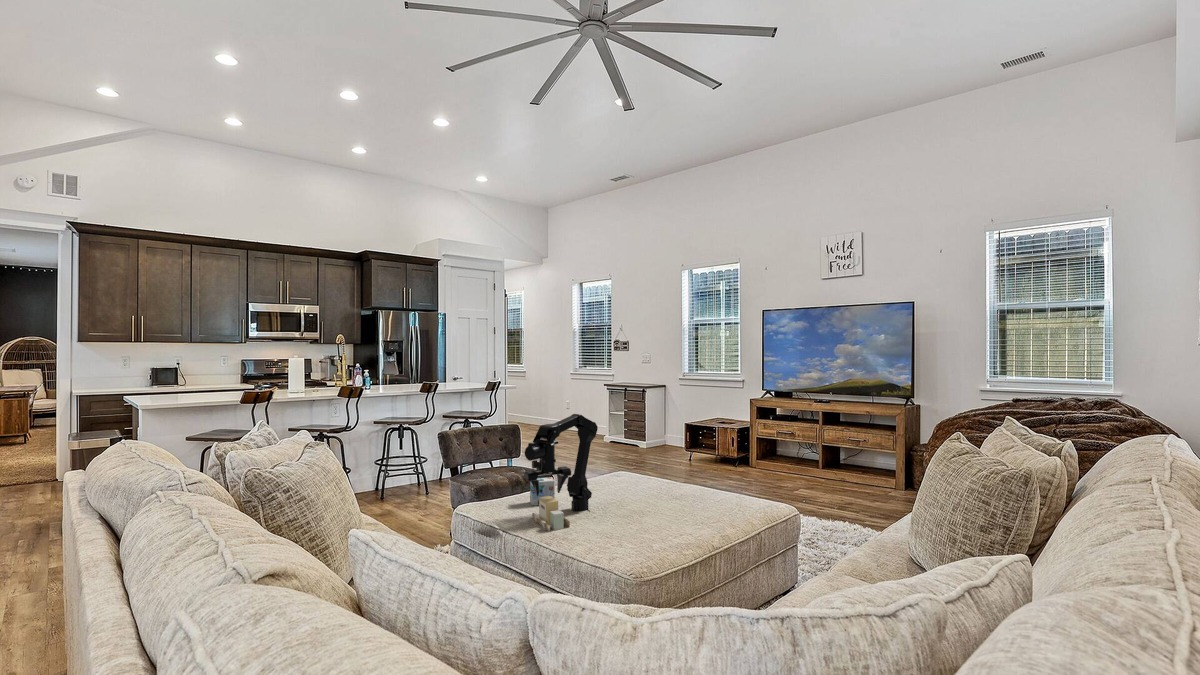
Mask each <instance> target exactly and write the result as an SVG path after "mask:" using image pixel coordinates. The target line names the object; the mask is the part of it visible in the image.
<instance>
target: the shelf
mask: <svg viewBox="0 0 1200 675" xmlns="http://www.w3.org/2000/svg"><path fill="white" fill-rule="evenodd" d="M531 519H533V520H534V521H535V522H536V523H538V524H539V525H540V526H541V527H543V529H544V530H546V531H547V532H551V531H555V530H554V529H552V528H551V527H550V525H548V524H547V523H546V522H545V521H544V520H542V519H541V518H540V517H539V515H537V514H536V513H535V512H532V514H531ZM569 528H571V527H570V520H569V519H567V518H566V517H565V516H564V528H563V529H562V530H564V529H569Z"/></svg>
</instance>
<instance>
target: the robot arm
mask: <svg viewBox="0 0 1200 675" xmlns="http://www.w3.org/2000/svg"><path fill="white" fill-rule="evenodd" d="M573 427H574V428H576V429H577V436H578V439H579V444H578V450H577V456H576V460H575V464H574V470H573V471H574V472H573V474H572V470H571V468H569V467H568V466H558V467H557V468H556V464H555V463H556V461H557V460H556V453H555V452H556V450H555V449H556V448H555V446H556V445H558V444H559V441H557V440H556V439H558V438H559V437H560V435H561V433H563V432H565V431H568V430H569V429H571V428H573ZM597 433H598V425H597V423H596V422H595V421H592V420H591V419H589V418H587V417H585V416H584V415H582V414H579V413H573V414H571V415H569V416H567V417H565V418H564V419H561V420H559V421H556V422H554V423H545V424H542V425H540V426H539V427H538V429H537V431H536V434H535V436H534V438H533V440H532V442H529V443H528V444H527V446H526V448H525V450H524V457H525V458H526V460H527V461H531V468H532V469H536V471H535V470H525V471H524V473H523V478H524V479H525V480H526V481H529V483H530V482H531V483H532V484H533V487H534V490H535V492H536V495H537V496H538V495H539V481H538V480H537V478H542V477H548V476H549V477H550V476H555V475H556V476H557V489H556V491H557V493H558V494H560V493H561V490H562V488H563V485H564V483H565V482H566V480H567V483H566V487H567V488H566V490H567V492H568V495H569V497H570V498H571V499H572V501H571V511H573V512H586V511H587V512H589V513H590V512H591V510H589V500H590V499H591V498H592V496H593V495H592V494H593V492H591V490H590V489H589V488H588V483H589V482H588V480H587V476H586V473H587V467H588V462H589V456H590V451H591V450H590V449H591V445H592V442H593V441H594V439H596V437H597ZM538 460H539V461H538Z"/></svg>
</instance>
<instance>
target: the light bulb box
mask: <svg viewBox="0 0 1200 675" xmlns="http://www.w3.org/2000/svg"><path fill="white" fill-rule="evenodd" d="M537 480H538V481H539V495H538V496H537V495H536V492H535V490H534V487H533V484H532V483H531V482H530V481H529V492H530V493H529V494H530V495H529V500H530V501H529V502H530V505H531V506H532V507H533V505H534V506H539V497H545V496H551V497H553V498H554V499H556V498H555V497H556V496H555V493H556V492H555V480H554V478H553V477H552V476H551V477H550V476H549V477H538V478H537Z"/></svg>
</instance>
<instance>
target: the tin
mask: <svg viewBox="0 0 1200 675" xmlns="http://www.w3.org/2000/svg"><path fill="white" fill-rule="evenodd" d="M564 515H565V513H564V512H563V511H562V510H561V509H558V510H556V511H550V527H551V528H552V529H554V530H553V531H558V530H564V529H565V528H564V517H565V516H564ZM563 528H564V529H563Z"/></svg>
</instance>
